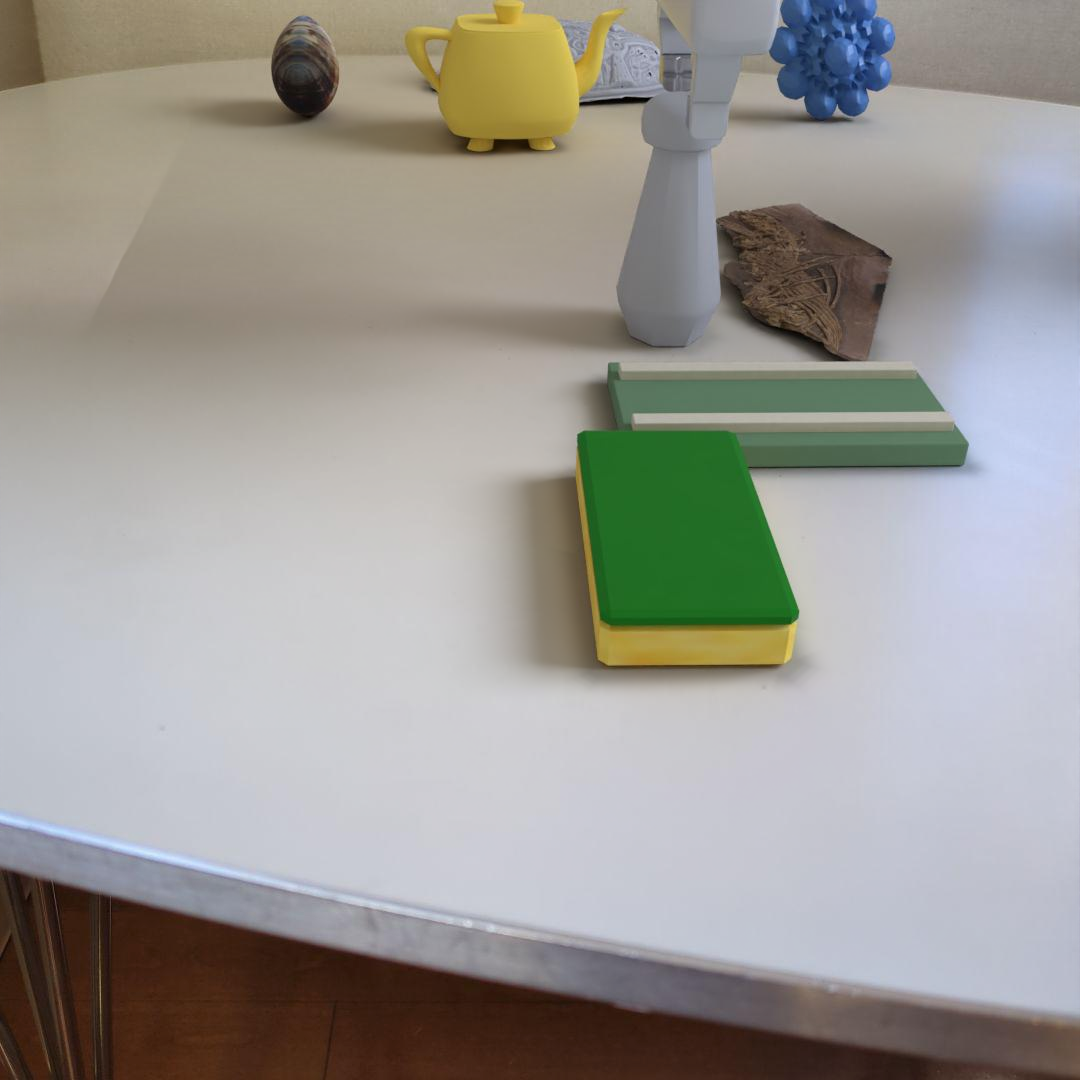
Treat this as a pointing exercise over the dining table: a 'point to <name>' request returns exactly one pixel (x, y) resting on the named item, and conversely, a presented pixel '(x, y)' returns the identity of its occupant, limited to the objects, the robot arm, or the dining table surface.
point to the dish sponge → (680, 552)
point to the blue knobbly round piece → (832, 54)
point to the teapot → (510, 74)
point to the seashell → (305, 67)
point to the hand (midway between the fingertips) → (689, 111)
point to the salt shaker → (672, 233)
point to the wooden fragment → (808, 276)
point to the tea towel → (794, 410)
